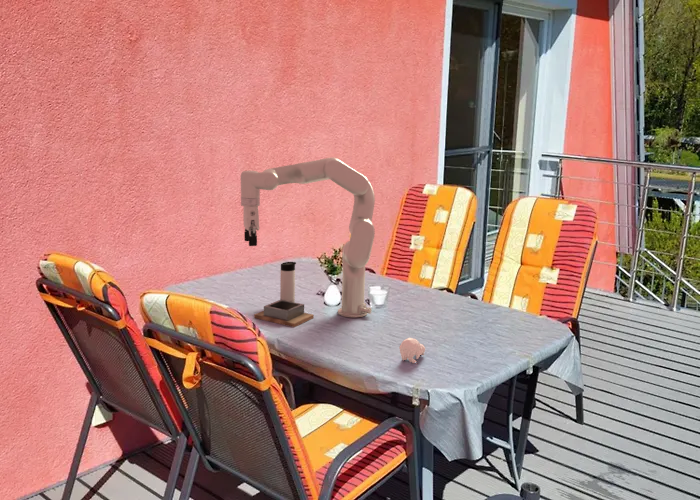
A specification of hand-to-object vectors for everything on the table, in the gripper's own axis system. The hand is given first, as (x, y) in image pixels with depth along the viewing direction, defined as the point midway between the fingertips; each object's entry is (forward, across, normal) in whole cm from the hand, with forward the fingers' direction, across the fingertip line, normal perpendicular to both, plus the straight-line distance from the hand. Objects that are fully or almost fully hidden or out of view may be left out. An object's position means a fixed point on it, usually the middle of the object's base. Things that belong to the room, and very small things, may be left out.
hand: (250, 243), depth 274 cm
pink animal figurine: (+31, -63, -46) cm, 84 cm away
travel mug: (+31, +8, -18) cm, 36 cm away
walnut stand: (+31, -7, -12) cm, 34 cm away
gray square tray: (+29, -7, -12) cm, 32 cm away
